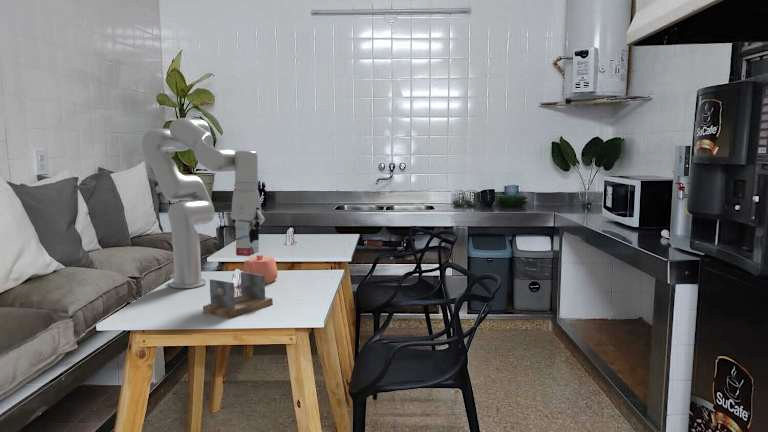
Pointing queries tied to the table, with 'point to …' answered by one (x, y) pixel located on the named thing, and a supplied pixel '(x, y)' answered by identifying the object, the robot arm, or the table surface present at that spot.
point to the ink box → (245, 239)
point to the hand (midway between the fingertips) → (247, 238)
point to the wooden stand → (235, 306)
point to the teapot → (262, 267)
